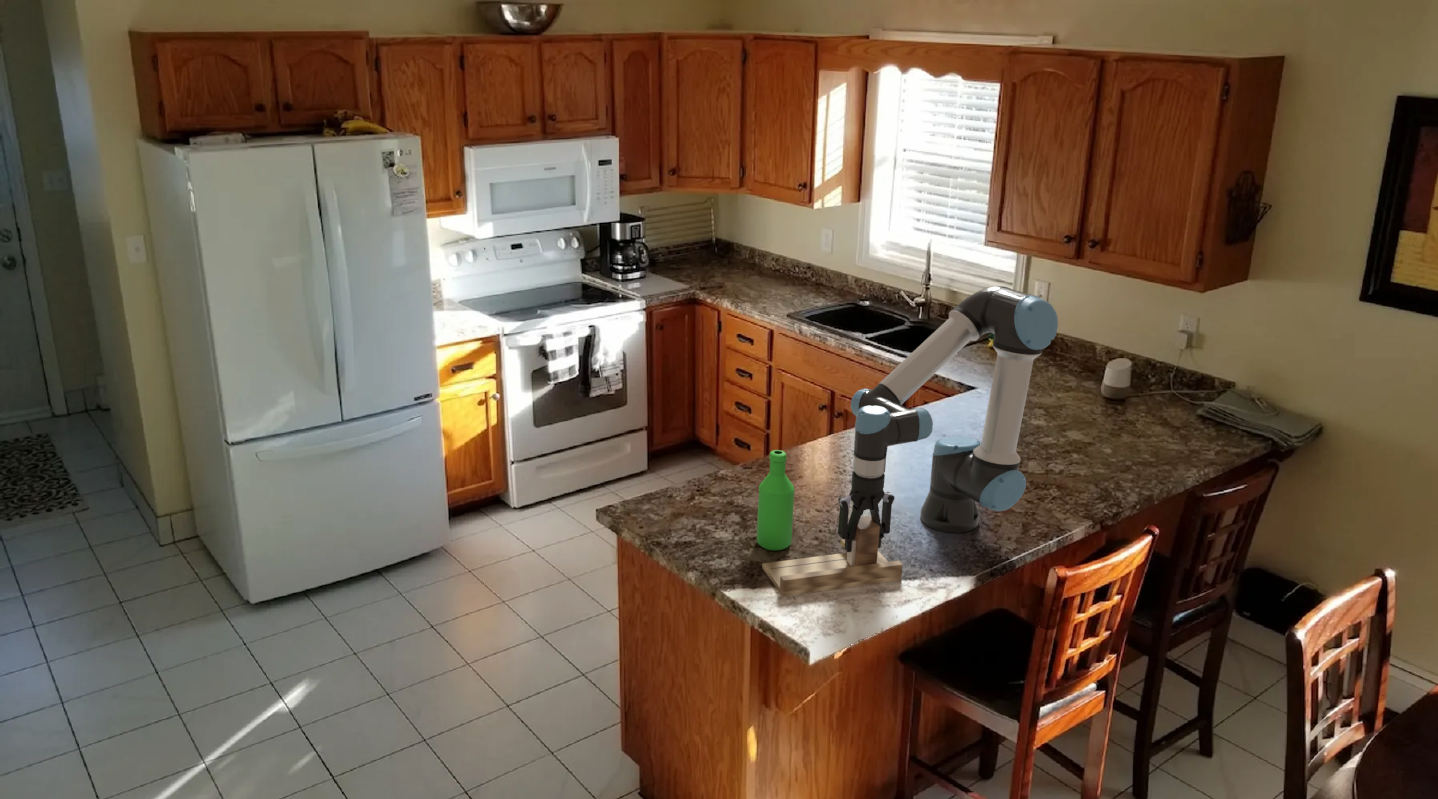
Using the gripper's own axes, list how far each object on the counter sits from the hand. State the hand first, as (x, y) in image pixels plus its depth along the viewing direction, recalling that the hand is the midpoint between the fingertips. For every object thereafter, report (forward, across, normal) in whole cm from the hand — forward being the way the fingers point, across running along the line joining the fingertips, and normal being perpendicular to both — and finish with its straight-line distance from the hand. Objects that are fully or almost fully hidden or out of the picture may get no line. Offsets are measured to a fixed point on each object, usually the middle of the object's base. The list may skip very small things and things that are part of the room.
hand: (861, 561), depth 257 cm
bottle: (+3, +15, -20) cm, 25 cm away
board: (+3, +7, -2) cm, 8 cm away
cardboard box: (+2, 0, -4) cm, 4 cm away
